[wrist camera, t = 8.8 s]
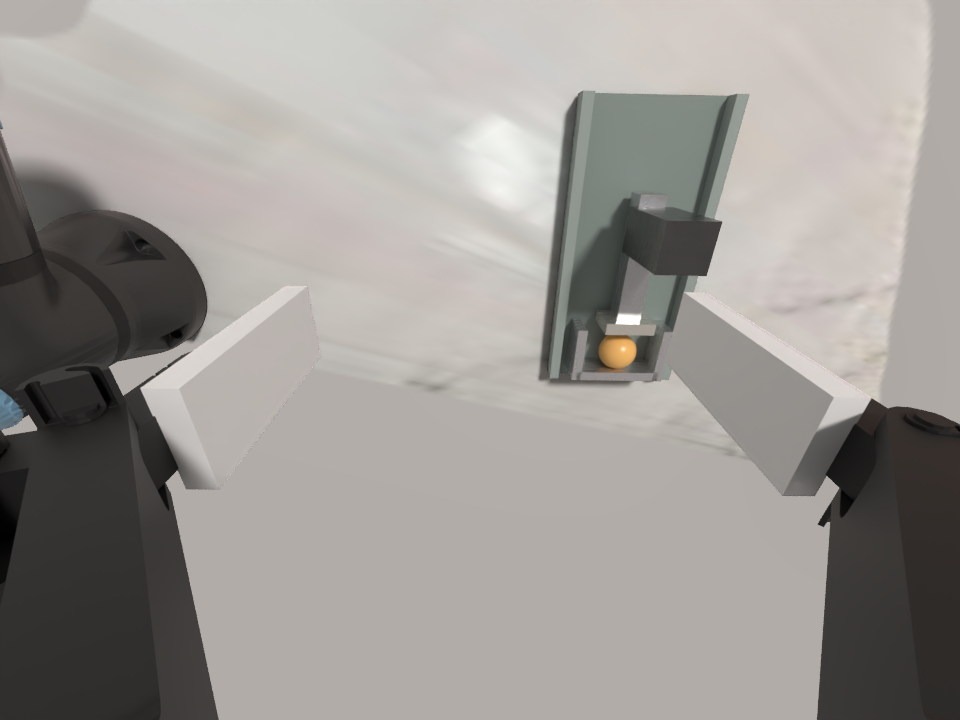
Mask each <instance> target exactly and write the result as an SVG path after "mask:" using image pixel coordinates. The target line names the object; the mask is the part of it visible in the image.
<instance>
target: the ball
mask: <svg viewBox="0 0 960 720" xmlns="http://www.w3.org/2000/svg"><path fill="white" fill-rule="evenodd" d="M598 352H599V357H600V359H601V361H602V362H603V363H604V364H605V365H607V366H608V367H610V368H614V369H620V368H624V367H626V366H628V365H630V364H631V363H632V362H633V360H634V359H635V356H636V345H635V343H634V341H633V340H632V339H631V338H630V337H629V336H628V335H608V336H606V337H605V338H604V339H603V340H602V341H601V343H600V345H599V350H598Z"/></svg>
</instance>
